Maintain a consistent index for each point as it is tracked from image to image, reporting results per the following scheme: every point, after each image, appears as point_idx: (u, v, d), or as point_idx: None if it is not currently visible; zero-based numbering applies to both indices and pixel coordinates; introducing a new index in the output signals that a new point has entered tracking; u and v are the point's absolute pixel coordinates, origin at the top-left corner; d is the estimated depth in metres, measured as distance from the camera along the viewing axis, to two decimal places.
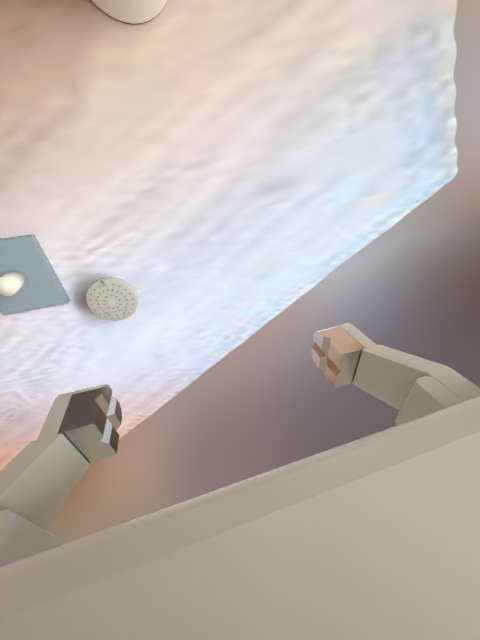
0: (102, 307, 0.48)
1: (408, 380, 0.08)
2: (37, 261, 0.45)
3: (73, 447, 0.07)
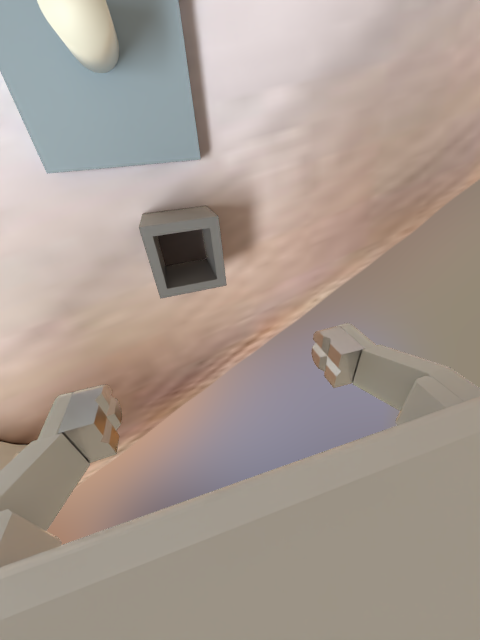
0: None
1: (409, 380, 0.08)
2: (30, 93, 0.16)
3: (73, 447, 0.07)
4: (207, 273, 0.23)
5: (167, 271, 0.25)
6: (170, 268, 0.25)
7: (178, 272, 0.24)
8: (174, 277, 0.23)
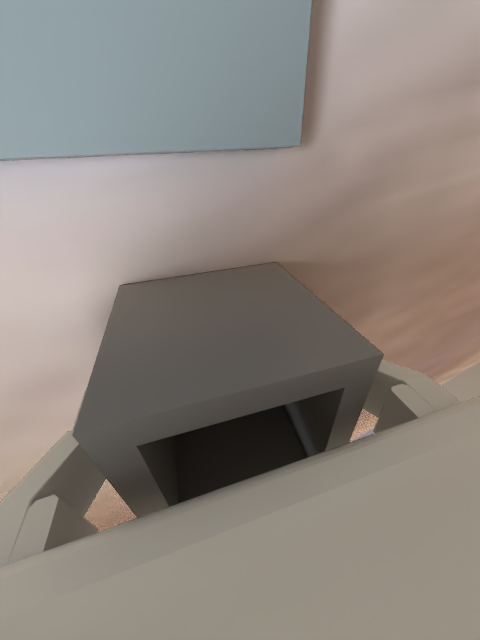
0: None
1: (386, 387, 0.07)
2: None
3: None
4: (278, 436, 0.09)
5: None
6: None
7: None
8: (196, 446, 0.09)
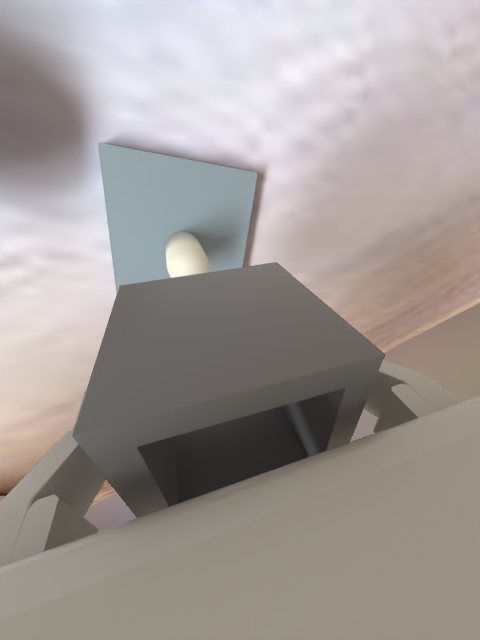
0: None
1: (386, 387, 0.07)
2: (128, 272, 0.22)
3: None
4: (279, 437, 0.09)
5: None
6: None
7: None
8: (196, 446, 0.09)
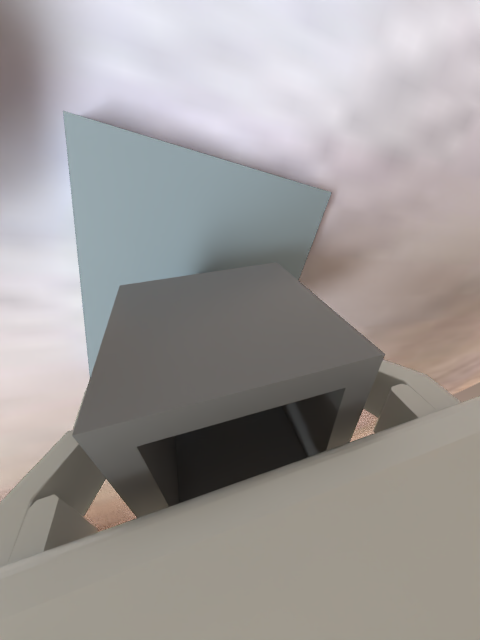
0: None
1: (386, 387, 0.07)
2: None
3: None
4: (279, 436, 0.09)
5: None
6: None
7: None
8: (196, 446, 0.09)
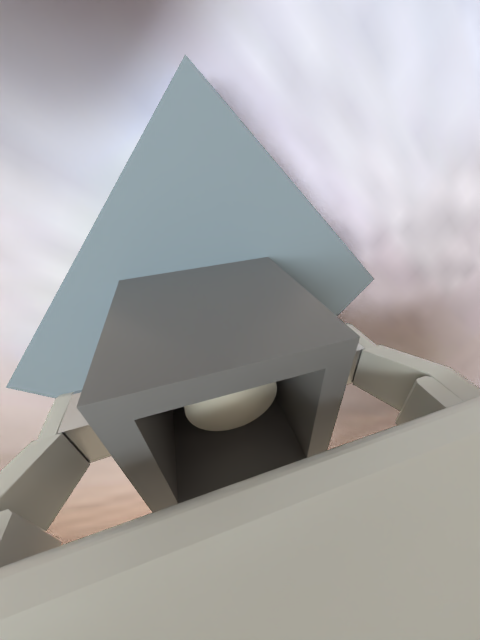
0: None
1: (409, 380, 0.08)
2: (79, 323, 0.10)
3: (73, 447, 0.07)
4: (271, 422, 0.10)
5: None
6: None
7: None
8: (193, 432, 0.10)
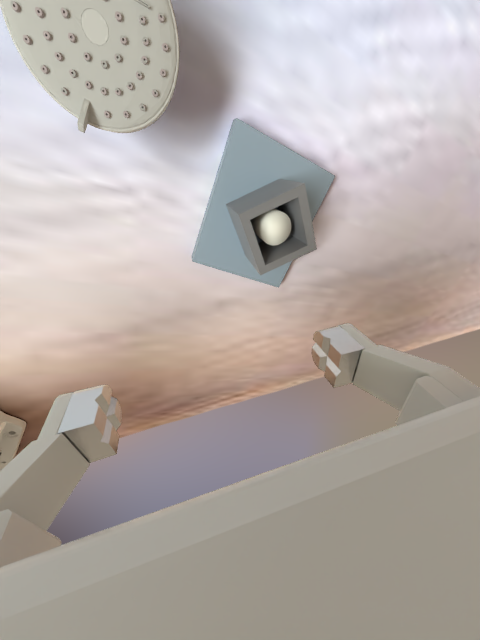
0: (138, 36, 0.14)
1: (409, 380, 0.08)
2: (214, 226, 0.26)
3: (73, 447, 0.07)
4: (294, 243, 0.25)
5: None
6: None
7: (265, 249, 0.26)
8: (265, 254, 0.25)
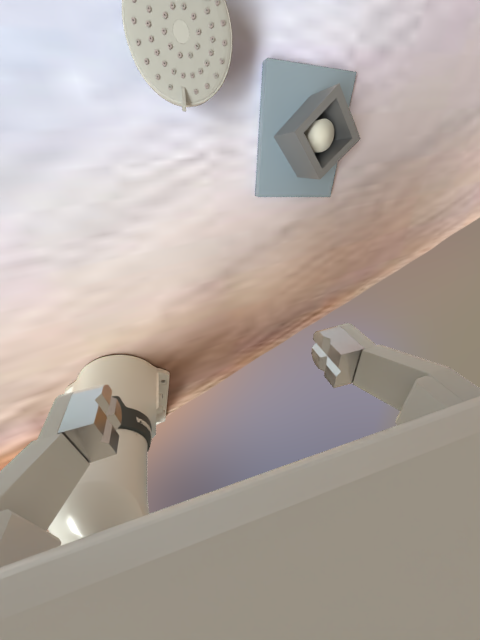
0: (206, 23, 0.21)
1: (409, 380, 0.08)
2: (268, 159, 0.32)
3: (73, 447, 0.07)
4: (339, 143, 0.30)
5: None
6: None
7: None
8: None
